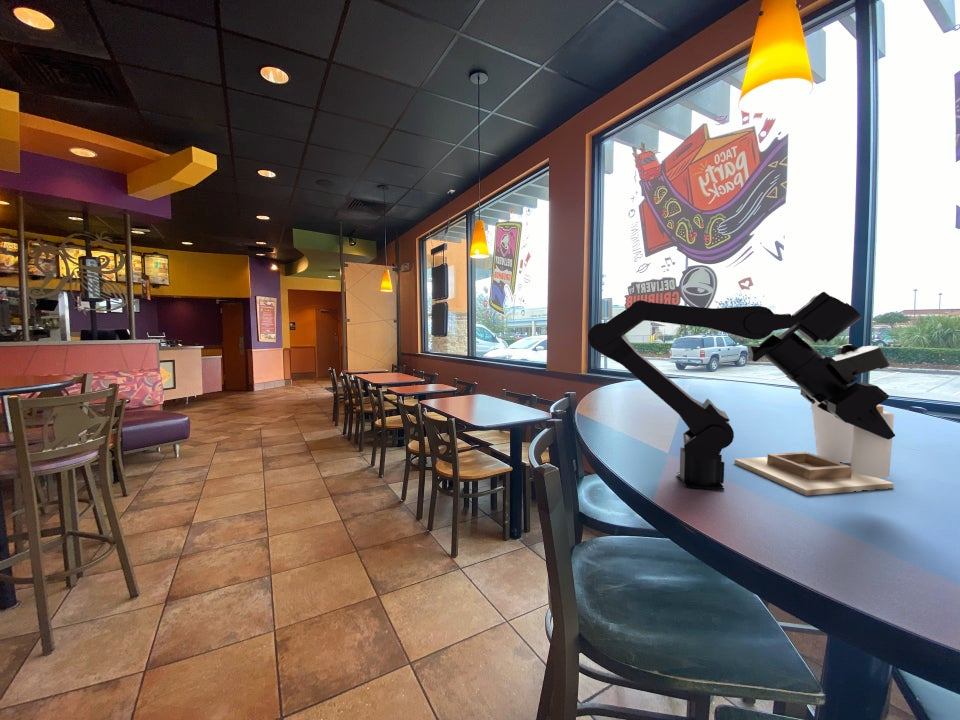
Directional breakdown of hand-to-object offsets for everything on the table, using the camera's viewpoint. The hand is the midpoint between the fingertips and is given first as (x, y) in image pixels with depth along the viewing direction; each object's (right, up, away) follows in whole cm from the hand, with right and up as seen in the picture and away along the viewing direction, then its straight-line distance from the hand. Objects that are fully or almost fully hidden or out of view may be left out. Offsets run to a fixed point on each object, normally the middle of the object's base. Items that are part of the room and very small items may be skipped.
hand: (884, 433), depth 61 cm
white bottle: (-1, -7, +1) cm, 7 cm away
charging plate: (+1, -11, +16) cm, 19 cm away
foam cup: (+15, -10, +25) cm, 31 cm away
